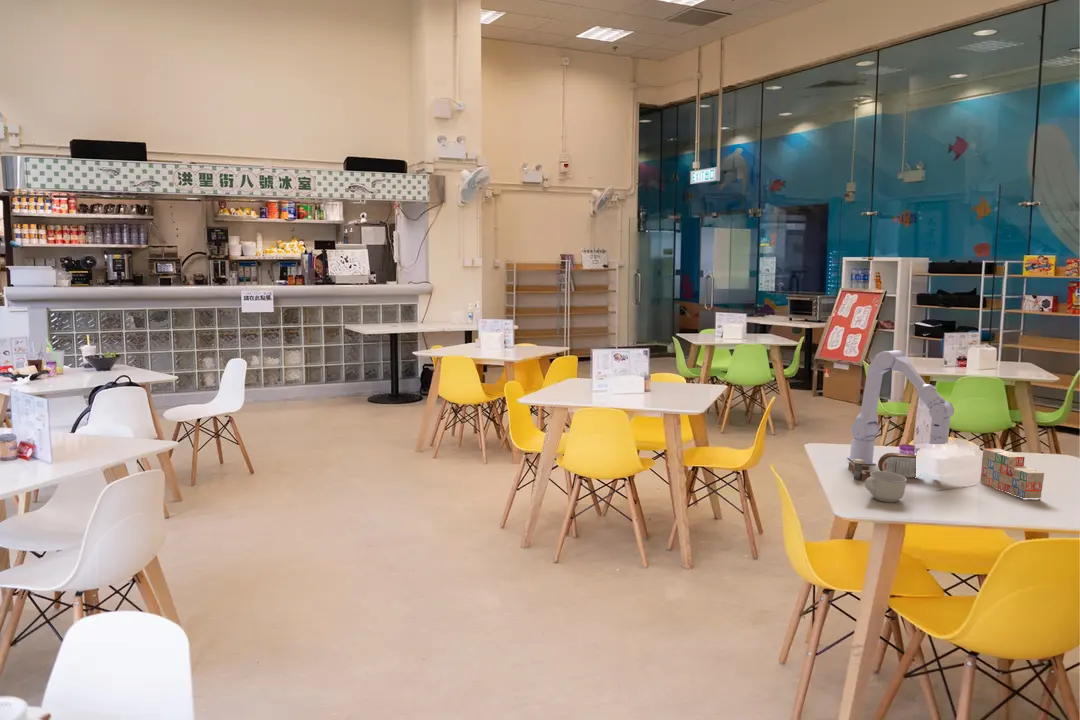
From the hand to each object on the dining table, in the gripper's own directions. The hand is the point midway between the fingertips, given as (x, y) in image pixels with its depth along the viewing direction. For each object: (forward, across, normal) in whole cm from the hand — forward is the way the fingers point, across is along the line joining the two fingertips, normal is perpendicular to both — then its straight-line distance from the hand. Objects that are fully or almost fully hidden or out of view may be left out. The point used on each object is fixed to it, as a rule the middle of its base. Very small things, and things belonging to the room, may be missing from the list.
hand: (935, 474), depth 284 cm
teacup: (+2, -28, -30) cm, 41 cm away
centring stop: (+2, -26, 0) cm, 26 cm away
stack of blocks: (+2, +20, -10) cm, 23 cm away
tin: (+2, -12, 0) cm, 12 cm away
